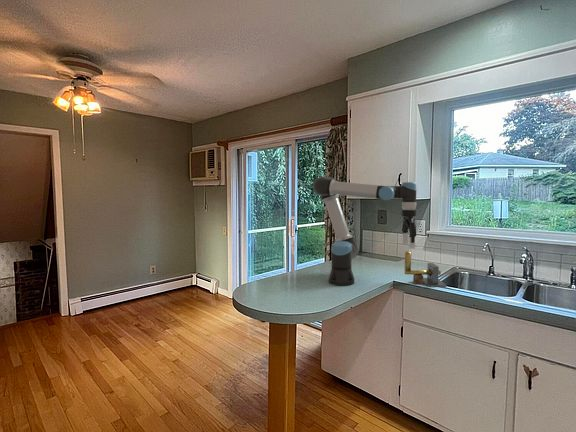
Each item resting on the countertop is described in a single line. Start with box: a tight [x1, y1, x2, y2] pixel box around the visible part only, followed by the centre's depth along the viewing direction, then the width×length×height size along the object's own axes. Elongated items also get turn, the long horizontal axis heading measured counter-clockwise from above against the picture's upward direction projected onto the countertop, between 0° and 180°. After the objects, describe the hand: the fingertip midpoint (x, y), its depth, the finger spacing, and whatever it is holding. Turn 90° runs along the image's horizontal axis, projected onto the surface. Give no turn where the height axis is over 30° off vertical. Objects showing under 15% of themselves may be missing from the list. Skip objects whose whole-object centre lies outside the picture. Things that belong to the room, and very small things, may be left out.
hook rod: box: [403, 250, 441, 276], centre depth 182 cm, size 20×3×13 cm, turn 85°
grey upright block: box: [423, 262, 447, 288], centre depth 182 cm, size 10×14×10 cm
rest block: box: [412, 274, 424, 285], centre depth 183 cm, size 4×5×5 cm
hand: (408, 246), depth 182 cm, fingers open, 13 cm apart
